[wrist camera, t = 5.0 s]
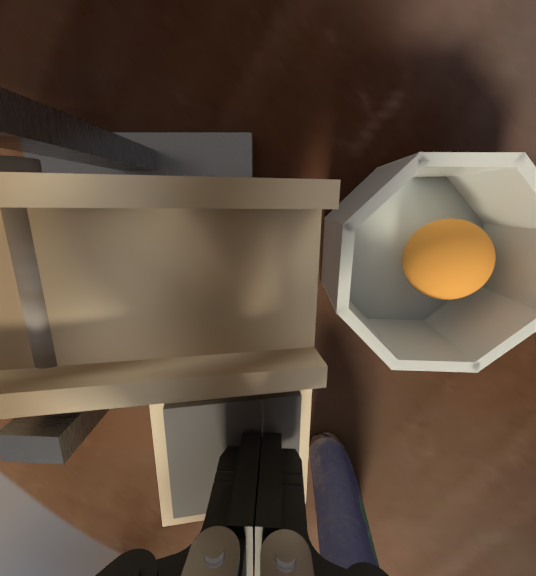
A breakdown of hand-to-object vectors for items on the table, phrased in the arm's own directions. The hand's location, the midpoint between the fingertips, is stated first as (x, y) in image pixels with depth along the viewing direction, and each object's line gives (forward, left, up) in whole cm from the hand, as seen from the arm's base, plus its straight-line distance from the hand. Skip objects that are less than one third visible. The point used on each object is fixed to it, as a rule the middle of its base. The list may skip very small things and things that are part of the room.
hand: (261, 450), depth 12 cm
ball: (-9, -6, -6) cm, 12 cm away
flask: (-5, +11, -9) cm, 14 cm away
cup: (-8, -6, -8) cm, 13 cm away
